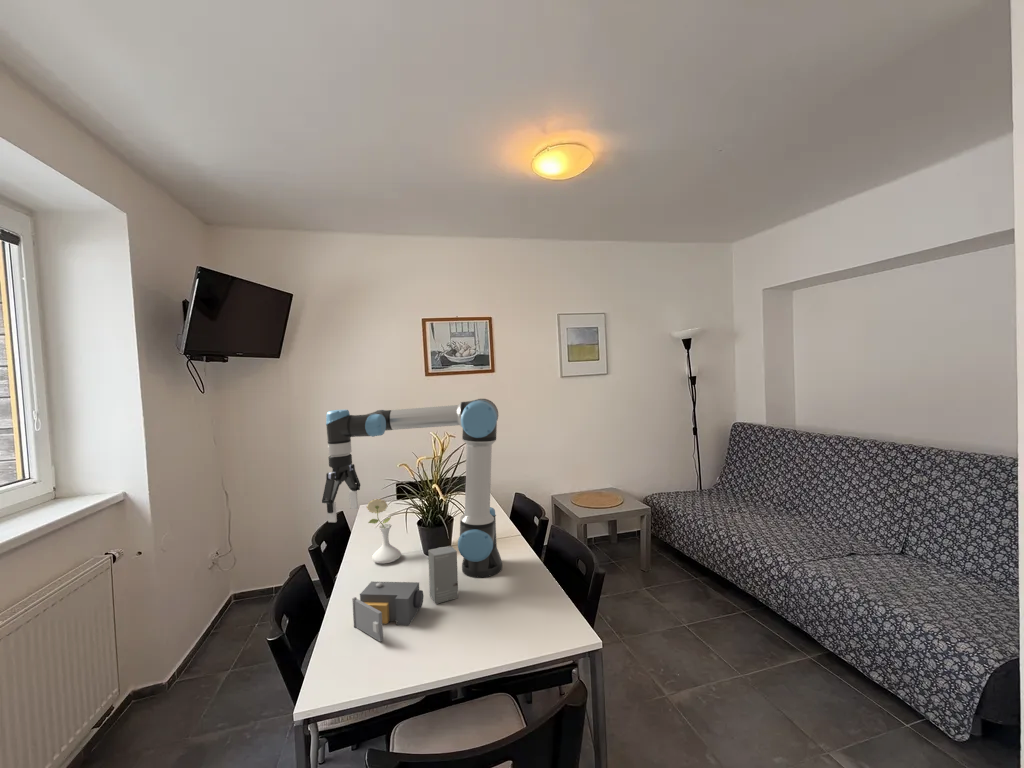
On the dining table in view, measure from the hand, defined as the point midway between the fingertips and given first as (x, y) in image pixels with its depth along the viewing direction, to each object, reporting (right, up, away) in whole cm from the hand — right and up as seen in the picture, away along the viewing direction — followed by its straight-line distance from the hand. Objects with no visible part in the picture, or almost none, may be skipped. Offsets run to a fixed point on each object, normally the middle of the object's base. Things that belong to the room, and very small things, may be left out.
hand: (343, 515), depth 153 cm
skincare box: (+36, -26, -7) cm, 45 cm away
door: (+17, -26, -26) cm, 41 cm away
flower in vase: (+7, -25, +24) cm, 36 cm away
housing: (+21, -26, -17) cm, 38 cm away
